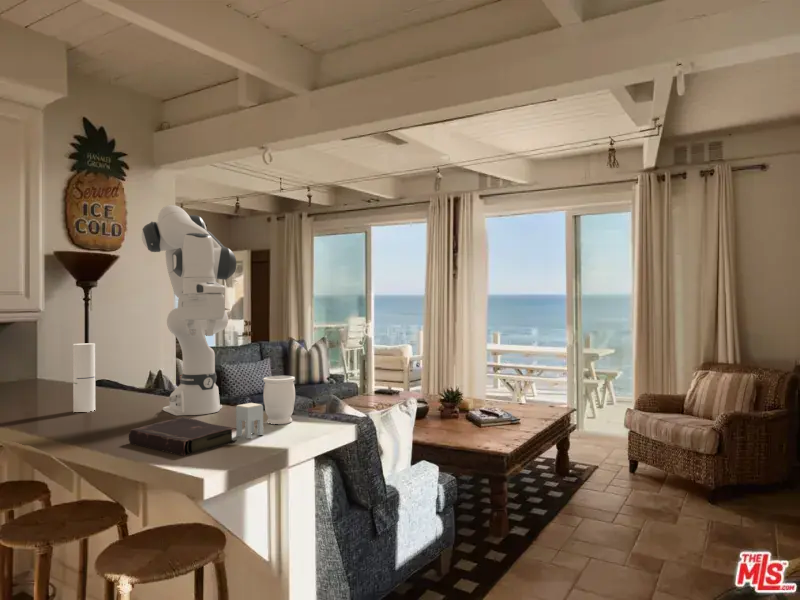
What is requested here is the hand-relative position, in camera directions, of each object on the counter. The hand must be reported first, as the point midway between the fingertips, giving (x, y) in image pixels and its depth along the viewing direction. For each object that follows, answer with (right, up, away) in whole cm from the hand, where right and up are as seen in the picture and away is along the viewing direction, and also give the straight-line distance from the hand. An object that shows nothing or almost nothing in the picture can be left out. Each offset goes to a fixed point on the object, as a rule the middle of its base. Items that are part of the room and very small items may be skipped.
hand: (200, 335), depth 164 cm
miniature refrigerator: (-60, -31, +46) cm, 82 cm away
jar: (+18, -31, +25) cm, 43 cm away
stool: (+13, -31, +6) cm, 34 cm away
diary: (-4, -31, -2) cm, 32 cm away
